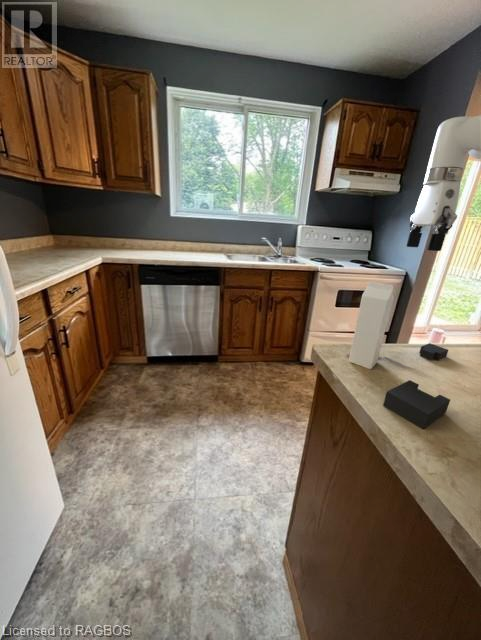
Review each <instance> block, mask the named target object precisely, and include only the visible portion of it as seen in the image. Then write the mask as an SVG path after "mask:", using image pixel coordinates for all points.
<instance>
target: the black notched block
mask: <svg viewBox="0 0 481 640" xmlns="http://www.w3.org/2000/svg"><path fill="white" fill-rule="evenodd" d="M419 385H420V384H419V383H417V382H414V381H413V380H411V379H410V380H406V381H405V382H403V383H400V384H399V385H397V386H394V387H393V388H391V389H389V390H387V391H386V393H385V397H384V400H383V404H382V406H383V407H385V408H386V409H388V410H390V411H392V412H393V413H395V414H397V415H398V416H400V417H401V418H403V419H405V420H406V421H408V422H410V423H411V424H413V425H415V426H417V427H418V428H420V429H422V430H425V429H426V428H428V427H429V426H430V425H432V424H433V423H435V422H436V421H437V420H439V419H441V418H442V417H443V416H444V415H446V413H447V410H448V408H449V406H450V403H451V399H450V398H448V397H446V396H444V395H442V394H438V395H436V396H434V395H431V394H429V393H427V392H425V391H423V390H421V389H419Z"/></svg>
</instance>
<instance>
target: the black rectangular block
mask: <svg viewBox="0 0 481 640" xmlns="http://www.w3.org/2000/svg"><path fill="white" fill-rule="evenodd" d="M448 353H449V349H448V348H445V347H442V346H439V345H437V344H433V343H431V342H429V343H427V344H424V345H421V346H420V349H419V351H418V354H419V357H421V358H423V359H426V360H429V361H433V360H435V361H438V362H439V361H441V360H443V359H444V358H447V356H448Z"/></svg>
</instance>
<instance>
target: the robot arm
mask: <svg viewBox="0 0 481 640" xmlns="http://www.w3.org/2000/svg"><path fill="white" fill-rule="evenodd" d="M468 156H470V157H471V158H473V159H476V160H481V114H480V115H475V116H456V117H451V118H449V119H448V118H447V119H446V120H444V121H442V122H441V123H440V124H439V125H438V128H437V130H436V133H435V137H434V141H433V145H432V148H431V152H430V156H429V160H428V164H427V167H426V170H425V171H426V172H425V176H424V178H423V179H424V180H423V183H422V186H423V188H422V189H421V192H420V194H419V197H418V201H417V202H416V206H415V209H414V212H413V214H412V215H410V217H409V218H410V219H409V220H410V221H409V230H408V232H409V234H408V237H407V242H406V248H419V246H420V242H421V238H422V236H423V232H422V231H423V230H424V228H425V227H432V231H433V233H430V234H431V235H430V238H429V241H428V244H427V247H426V249H427V251H431V252H441V251H442V248H443V245H444V242H445V239H446V236H447V235H448V234H449V231H450V230H451V229H452V228H453V224H454V223H455V221H456V220H457V219H458V215H457V213H456V211H457V207H458V202H459V197H460V192H461V191H460V189H461V183H460V181H461V179H462V175H463V173H464V172H463V171H464V168H465V165H466V162H467V159H468Z"/></svg>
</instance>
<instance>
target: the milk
mask: <svg viewBox="0 0 481 640" xmlns="http://www.w3.org/2000/svg"><path fill="white" fill-rule="evenodd" d="M393 291H394V285H393V284H387V283H382V282H381V283H380V282H375V281H367V286H366V288H365V290H364V291H363V293H362V295H361V299H360V304H359V309H358V314H357V319H356V323H355V327H354V332H353V338H352V342H351V347H350V353H349V357H348V362H349V363H351V364H355V365H357V366H360V367H363V368H365V369H369V370H372V368H374V366H376V364H377V363H378V361H379V357H380V352H381V349H382V346H383V341H384V337H385V332H386V329H387V325H388V321H389V317H390V313H391V309H392V305H393V302H394V301H393V300H394V292H393Z"/></svg>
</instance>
